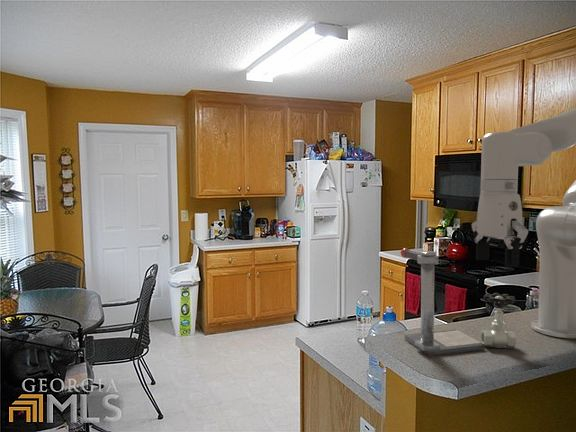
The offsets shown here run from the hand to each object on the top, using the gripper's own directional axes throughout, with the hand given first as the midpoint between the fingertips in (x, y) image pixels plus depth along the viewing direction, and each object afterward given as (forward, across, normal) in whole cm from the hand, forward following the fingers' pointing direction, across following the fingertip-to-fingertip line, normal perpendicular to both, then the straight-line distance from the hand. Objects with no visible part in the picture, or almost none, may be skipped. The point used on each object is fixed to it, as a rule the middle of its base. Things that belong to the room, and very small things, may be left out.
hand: (496, 263), depth 101 cm
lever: (0, +6, +16) cm, 18 cm away
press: (+20, +5, +10) cm, 22 cm away
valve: (+20, 0, -1) cm, 20 cm away
